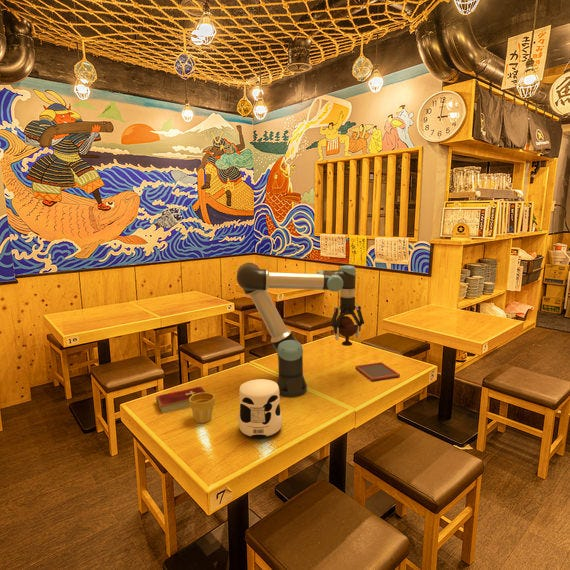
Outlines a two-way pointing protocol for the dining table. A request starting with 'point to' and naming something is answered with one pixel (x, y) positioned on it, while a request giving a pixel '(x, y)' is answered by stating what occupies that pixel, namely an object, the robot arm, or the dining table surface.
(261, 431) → the milk container
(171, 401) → the hardcover book
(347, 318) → the ice cream bowl
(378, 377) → the serving tray
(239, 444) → the dining table surface
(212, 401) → the plant pot
